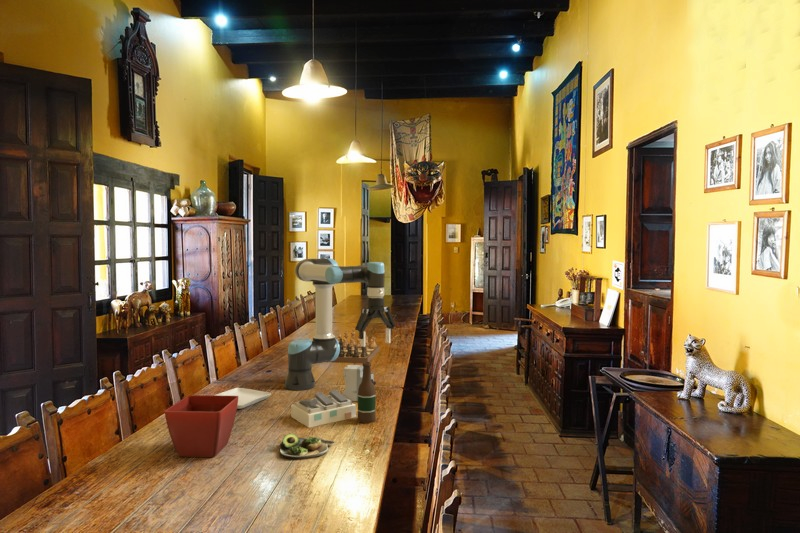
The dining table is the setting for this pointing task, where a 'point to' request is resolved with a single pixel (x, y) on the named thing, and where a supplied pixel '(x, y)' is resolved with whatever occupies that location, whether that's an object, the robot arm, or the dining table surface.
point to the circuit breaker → (353, 381)
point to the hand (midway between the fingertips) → (375, 344)
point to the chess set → (356, 349)
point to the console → (322, 412)
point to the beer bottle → (366, 396)
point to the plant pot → (201, 424)
